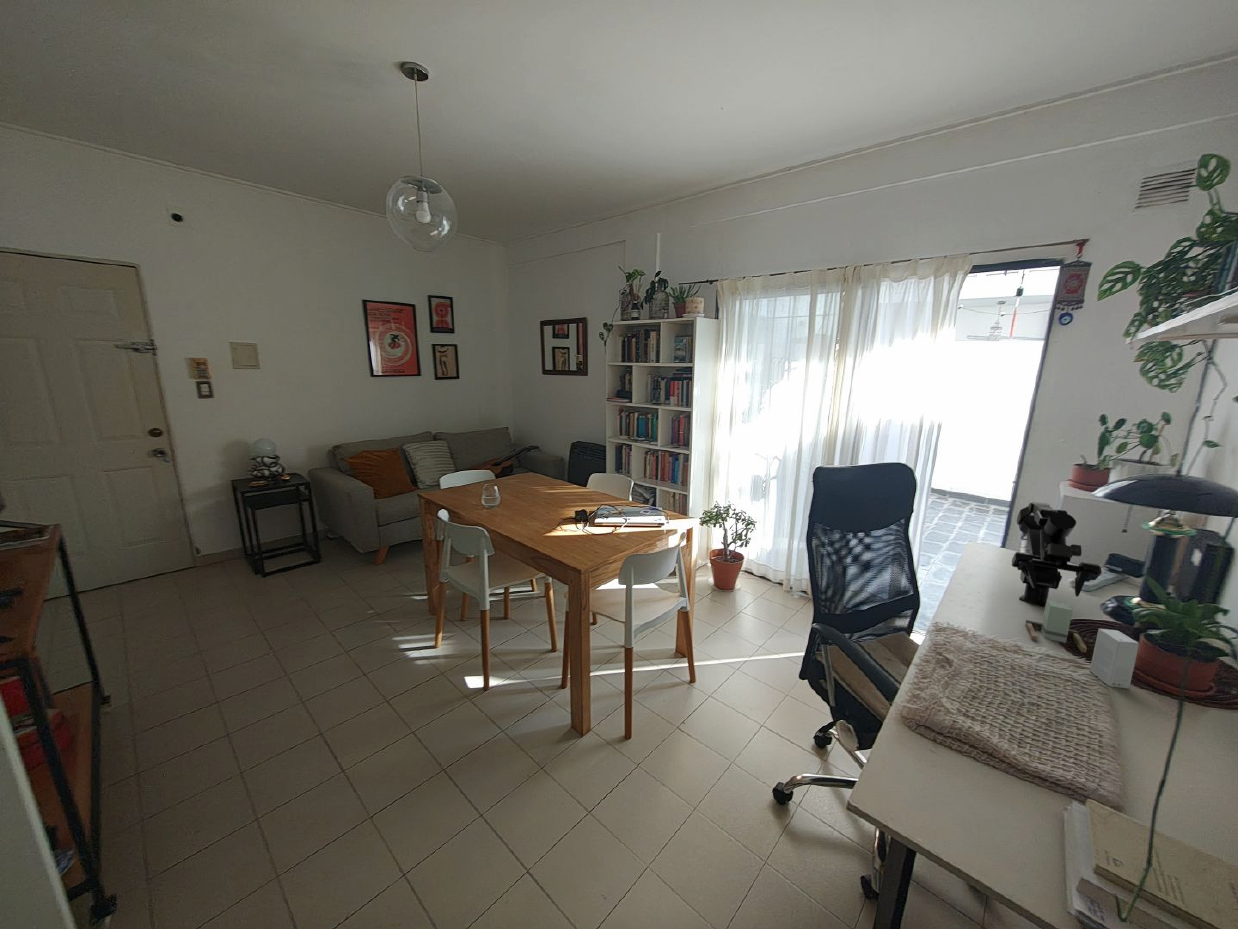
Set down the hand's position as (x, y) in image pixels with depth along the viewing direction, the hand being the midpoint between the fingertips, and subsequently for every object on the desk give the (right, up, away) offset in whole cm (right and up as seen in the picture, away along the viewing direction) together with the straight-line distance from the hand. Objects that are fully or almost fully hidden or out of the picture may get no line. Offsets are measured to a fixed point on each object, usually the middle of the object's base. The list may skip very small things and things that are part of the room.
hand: (1055, 591), depth 131 cm
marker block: (-3, -12, -2) cm, 13 cm away
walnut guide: (-4, -12, -3) cm, 13 cm away
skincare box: (-8, -16, -21) cm, 27 cm away
